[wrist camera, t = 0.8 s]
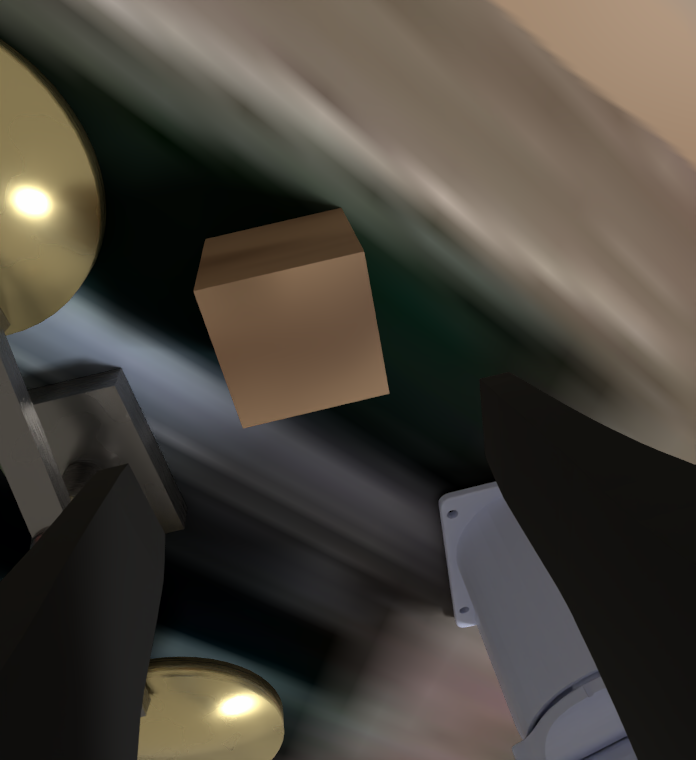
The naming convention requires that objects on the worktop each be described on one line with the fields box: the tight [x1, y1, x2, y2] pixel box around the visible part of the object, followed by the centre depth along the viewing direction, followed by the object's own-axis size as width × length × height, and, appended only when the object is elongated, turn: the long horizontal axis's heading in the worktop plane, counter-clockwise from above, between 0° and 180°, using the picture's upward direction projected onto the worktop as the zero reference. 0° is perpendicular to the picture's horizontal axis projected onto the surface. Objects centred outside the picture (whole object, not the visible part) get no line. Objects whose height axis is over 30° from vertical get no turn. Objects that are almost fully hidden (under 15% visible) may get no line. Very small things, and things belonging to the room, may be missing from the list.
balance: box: [0, 39, 284, 760], centre depth 19 cm, size 30×9×7 cm, turn 11°
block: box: [194, 208, 389, 428], centre depth 18 cm, size 4×4×4 cm
